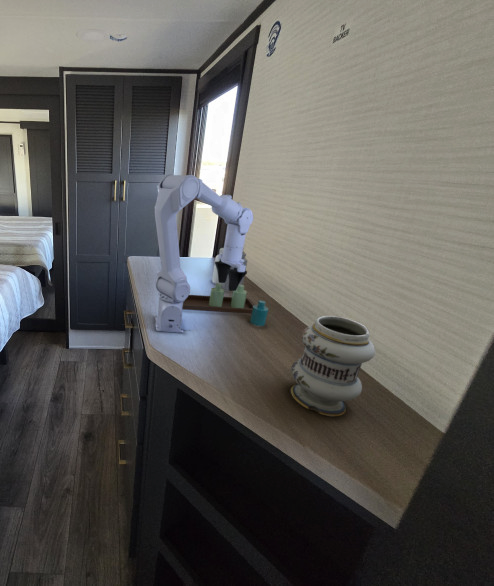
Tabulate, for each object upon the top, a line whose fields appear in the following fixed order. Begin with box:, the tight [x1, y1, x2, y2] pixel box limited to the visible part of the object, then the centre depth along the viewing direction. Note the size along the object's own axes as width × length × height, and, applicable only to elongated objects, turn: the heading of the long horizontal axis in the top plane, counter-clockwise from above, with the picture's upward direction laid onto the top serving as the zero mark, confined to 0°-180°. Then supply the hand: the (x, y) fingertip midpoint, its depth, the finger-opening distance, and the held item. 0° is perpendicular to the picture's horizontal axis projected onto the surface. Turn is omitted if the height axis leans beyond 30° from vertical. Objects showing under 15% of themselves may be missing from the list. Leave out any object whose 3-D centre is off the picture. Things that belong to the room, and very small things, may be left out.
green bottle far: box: [230, 284, 248, 308], centre depth 108 cm, size 4×4×8 cm
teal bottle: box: [249, 300, 269, 327], centre depth 97 cm, size 4×4×8 cm
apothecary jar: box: [290, 315, 376, 417], centre depth 63 cm, size 12×12×18 cm
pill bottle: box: [211, 247, 224, 285], centre depth 133 cm, size 8×8×15 cm
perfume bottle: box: [221, 247, 248, 291], centre depth 125 cm, size 7×7×18 cm
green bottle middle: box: [209, 283, 225, 307], centre depth 109 cm, size 4×4×8 cm
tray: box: [182, 294, 255, 315], centre depth 111 cm, size 11×26×2 cm, turn 83°
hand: (226, 286), depth 103 cm, fingers open, 7 cm apart
